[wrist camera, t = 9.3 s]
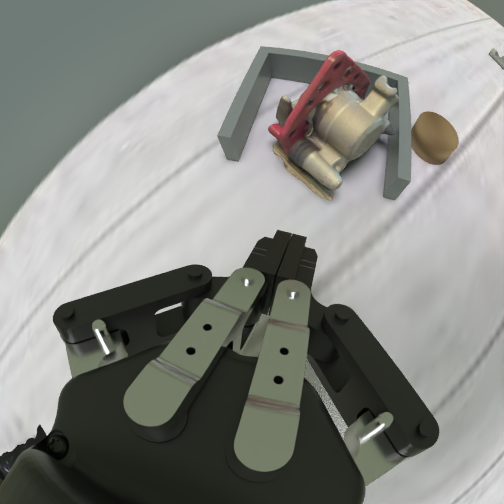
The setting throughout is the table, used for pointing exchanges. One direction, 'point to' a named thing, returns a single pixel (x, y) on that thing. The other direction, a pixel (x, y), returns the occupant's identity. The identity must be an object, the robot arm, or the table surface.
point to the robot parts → (497, 57)
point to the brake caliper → (332, 123)
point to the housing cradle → (304, 70)
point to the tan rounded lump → (433, 138)
